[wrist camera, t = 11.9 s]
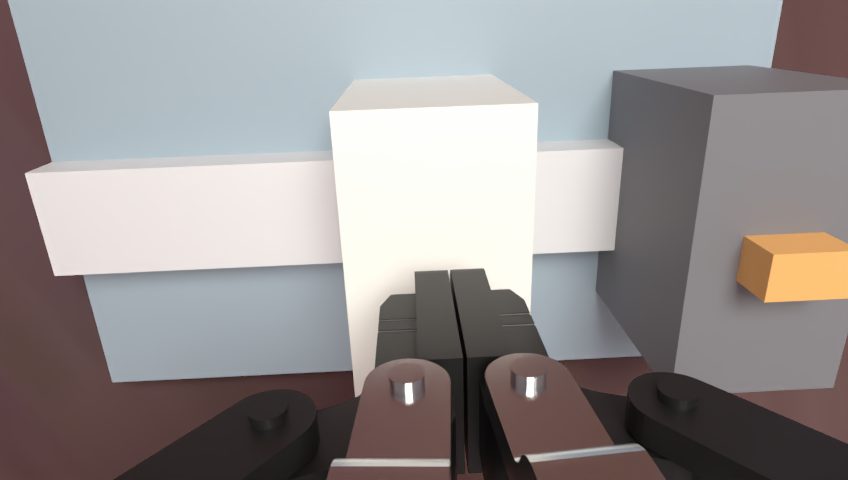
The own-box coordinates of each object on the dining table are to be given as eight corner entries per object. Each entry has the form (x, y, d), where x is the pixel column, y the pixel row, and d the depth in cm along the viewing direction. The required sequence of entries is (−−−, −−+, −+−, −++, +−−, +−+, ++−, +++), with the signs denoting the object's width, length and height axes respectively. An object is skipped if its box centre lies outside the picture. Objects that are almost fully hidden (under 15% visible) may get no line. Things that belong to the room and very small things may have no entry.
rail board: (35, -7, 19) (-275, -28, 10) (761, -33, 19) (1050, -74, 11) (129, 361, 24) (-25, 554, 15) (702, 332, 24) (866, 504, 16)
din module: (353, 79, 19) (328, 111, 12) (492, 74, 19) (538, 103, 12) (370, 300, 21) (356, 418, 15) (489, 295, 22) (526, 409, 15)
